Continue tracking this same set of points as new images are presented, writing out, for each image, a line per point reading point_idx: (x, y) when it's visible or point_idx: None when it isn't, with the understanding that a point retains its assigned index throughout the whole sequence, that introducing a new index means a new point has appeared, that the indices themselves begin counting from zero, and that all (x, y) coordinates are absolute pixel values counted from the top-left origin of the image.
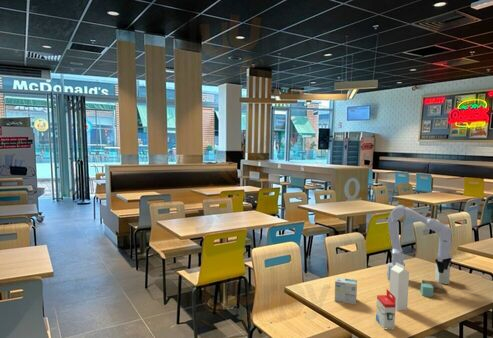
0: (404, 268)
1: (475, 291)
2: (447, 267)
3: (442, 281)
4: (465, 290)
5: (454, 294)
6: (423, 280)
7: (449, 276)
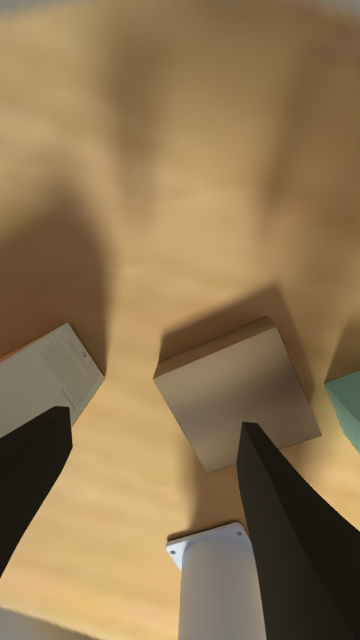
0: (222, 637)
1: (50, 128)
2: (47, 425)
3: (87, 366)
4: (93, 201)
5: (239, 252)
6: (211, 467)
7: (32, 344)
